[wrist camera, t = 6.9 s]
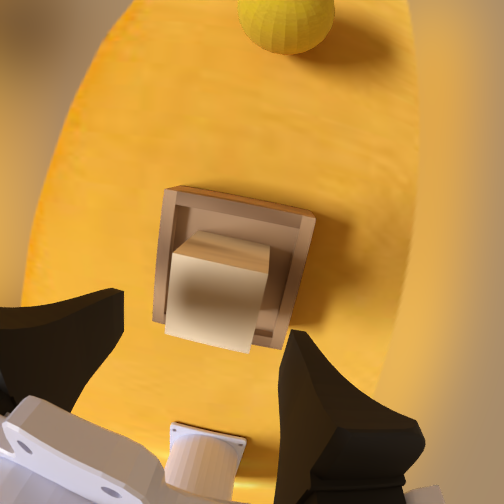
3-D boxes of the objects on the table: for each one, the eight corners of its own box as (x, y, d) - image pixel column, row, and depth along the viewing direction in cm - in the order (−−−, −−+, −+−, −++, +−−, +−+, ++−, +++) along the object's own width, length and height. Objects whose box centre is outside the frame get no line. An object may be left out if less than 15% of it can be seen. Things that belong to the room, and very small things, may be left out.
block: (255, 310, 20) (248, 353, 15) (188, 295, 20) (164, 333, 15) (269, 245, 18) (268, 274, 14) (198, 230, 18) (172, 252, 14)
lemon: (330, 17, 16) (353, -43, 8) (314, 79, 17) (336, 31, 10) (255, 0, 16) (245, -65, 8) (235, 60, 17) (212, 6, 10)
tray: (280, 326, 23) (281, 349, 19) (166, 301, 23) (152, 321, 20) (309, 210, 20) (316, 218, 17) (180, 185, 20) (164, 189, 17)
